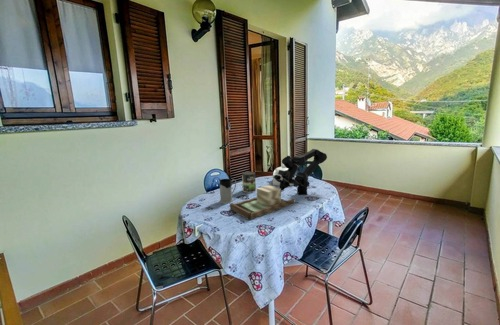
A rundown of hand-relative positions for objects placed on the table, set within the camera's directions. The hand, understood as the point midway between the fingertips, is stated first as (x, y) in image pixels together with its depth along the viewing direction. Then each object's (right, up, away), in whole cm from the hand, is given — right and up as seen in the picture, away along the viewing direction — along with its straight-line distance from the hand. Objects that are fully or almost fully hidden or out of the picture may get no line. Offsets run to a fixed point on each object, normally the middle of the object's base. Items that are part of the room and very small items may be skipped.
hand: (279, 191), depth 165 cm
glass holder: (-34, -7, +8) cm, 36 cm away
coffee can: (-20, -3, +26) cm, 33 cm away
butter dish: (+9, +2, +45) cm, 46 cm away
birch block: (-7, -6, -4) cm, 11 cm away
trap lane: (-11, -9, -7) cm, 16 cm away
